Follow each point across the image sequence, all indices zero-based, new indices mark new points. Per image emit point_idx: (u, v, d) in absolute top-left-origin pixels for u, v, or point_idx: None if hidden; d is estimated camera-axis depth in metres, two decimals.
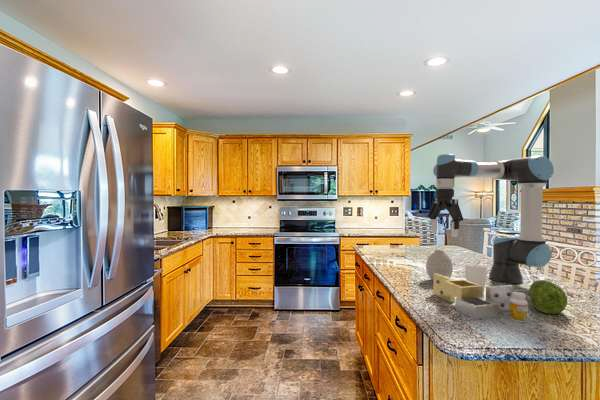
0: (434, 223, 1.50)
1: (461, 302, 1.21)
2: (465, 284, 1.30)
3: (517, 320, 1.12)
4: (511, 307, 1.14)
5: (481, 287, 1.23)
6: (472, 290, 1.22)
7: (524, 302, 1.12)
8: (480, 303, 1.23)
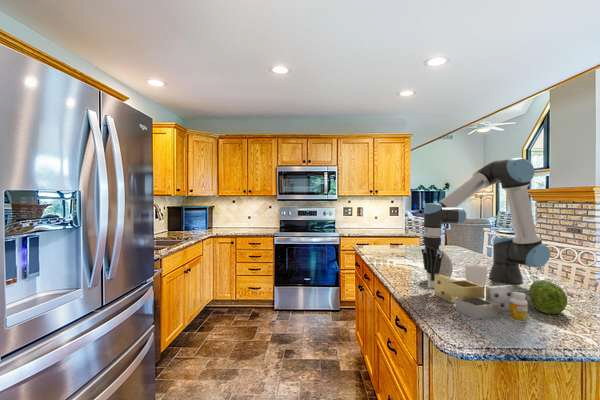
0: None
1: (461, 302, 1.21)
2: (466, 285, 1.30)
3: (517, 320, 1.12)
4: (511, 307, 1.14)
5: (483, 288, 1.22)
6: (474, 291, 1.21)
7: (524, 302, 1.12)
8: (480, 303, 1.23)
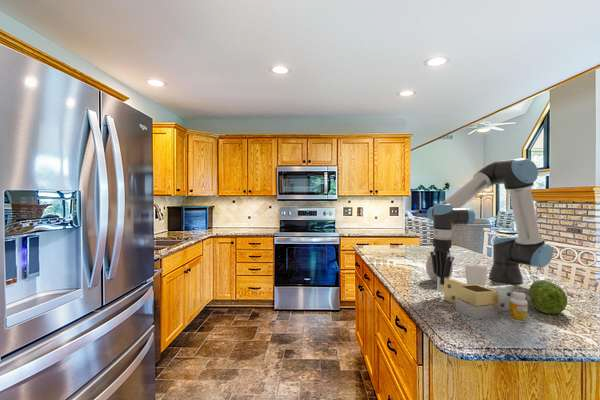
0: None
1: (461, 302, 1.21)
2: (479, 289, 1.24)
3: (517, 320, 1.12)
4: (511, 307, 1.14)
5: (497, 293, 1.16)
6: (487, 296, 1.15)
7: (524, 302, 1.12)
8: None
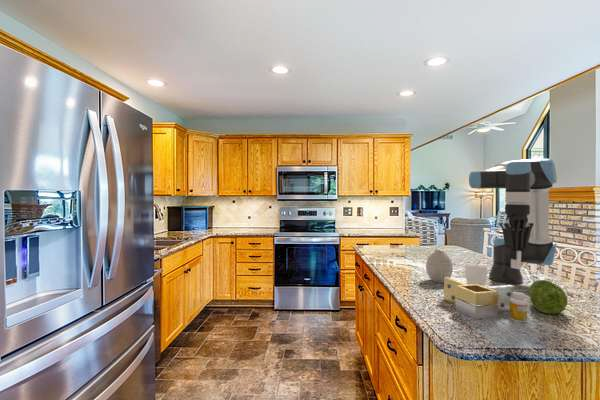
0: None
1: (461, 302, 1.21)
2: (479, 289, 1.24)
3: (517, 320, 1.12)
4: (511, 307, 1.14)
5: (496, 292, 1.16)
6: (487, 296, 1.15)
7: (524, 302, 1.12)
8: None
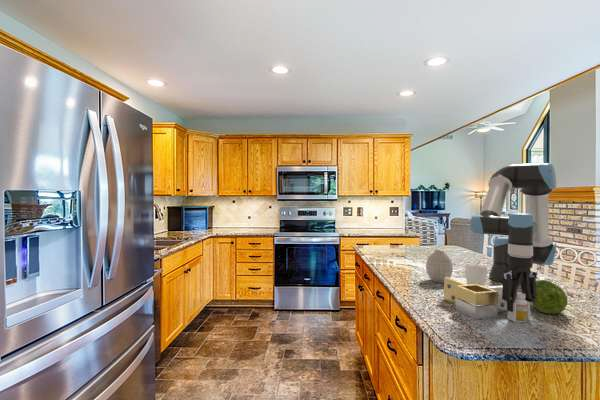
0: None
1: (461, 302, 1.21)
2: (479, 289, 1.24)
3: (517, 320, 1.12)
4: None
5: (496, 292, 1.16)
6: (487, 296, 1.15)
7: (524, 302, 1.12)
8: None
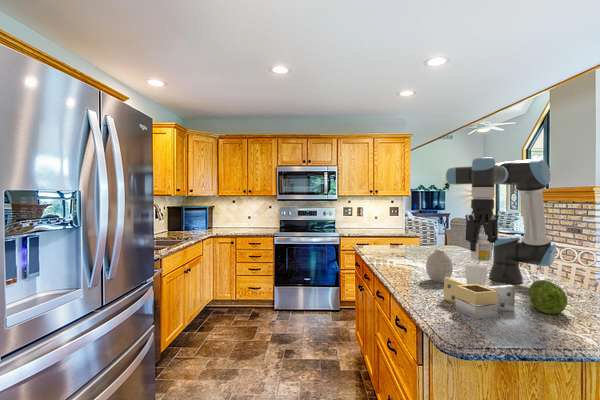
0: None
1: (461, 302, 1.21)
2: (479, 289, 1.24)
3: (479, 259, 1.17)
4: None
5: (496, 292, 1.16)
6: (487, 296, 1.15)
7: (486, 242, 1.17)
8: None
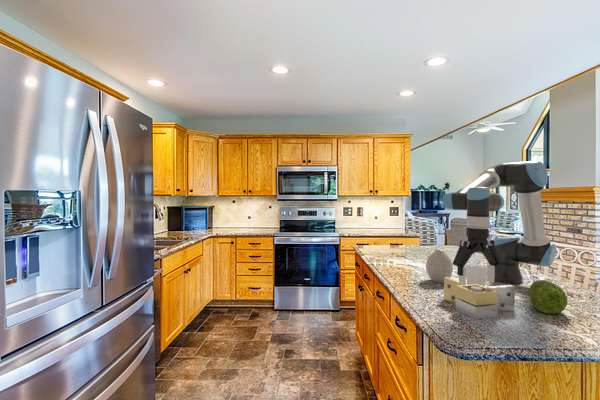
0: (489, 270, 1.22)
1: (461, 302, 1.21)
2: None
3: None
4: None
5: (496, 292, 1.16)
6: (487, 296, 1.15)
7: None
8: None
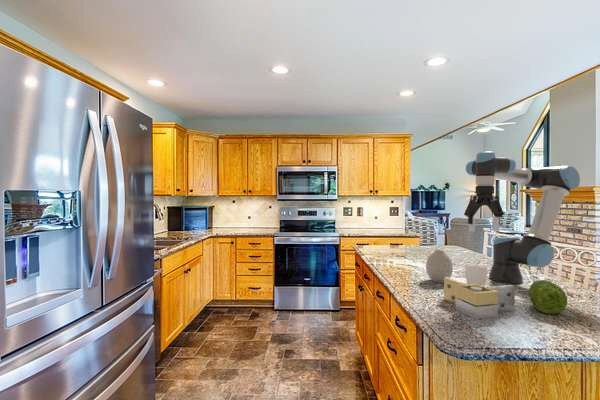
0: (495, 221, 1.48)
1: (461, 302, 1.21)
2: None
3: None
4: None
5: (496, 292, 1.16)
6: (487, 296, 1.15)
7: None
8: None
